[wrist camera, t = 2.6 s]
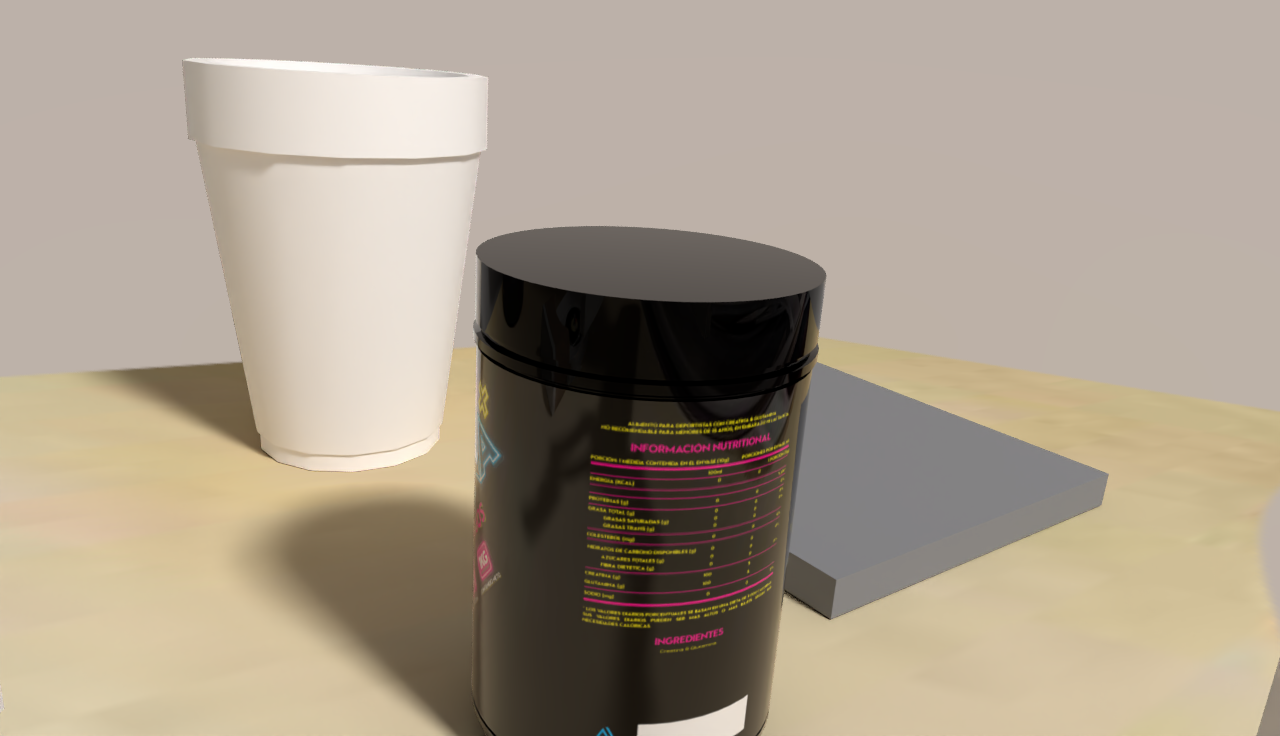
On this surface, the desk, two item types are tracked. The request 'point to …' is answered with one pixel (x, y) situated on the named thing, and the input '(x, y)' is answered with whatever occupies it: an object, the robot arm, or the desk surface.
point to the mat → (912, 493)
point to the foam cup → (340, 244)
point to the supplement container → (635, 477)
